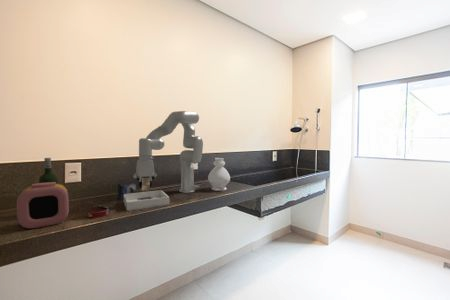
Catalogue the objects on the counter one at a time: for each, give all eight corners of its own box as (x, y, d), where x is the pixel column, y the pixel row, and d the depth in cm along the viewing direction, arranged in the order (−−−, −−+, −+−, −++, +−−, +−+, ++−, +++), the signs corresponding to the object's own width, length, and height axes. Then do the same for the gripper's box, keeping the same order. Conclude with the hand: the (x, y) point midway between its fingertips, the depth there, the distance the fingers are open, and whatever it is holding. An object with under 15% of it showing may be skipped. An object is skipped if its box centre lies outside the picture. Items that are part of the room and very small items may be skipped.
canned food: (90, 222, 121) (89, 204, 124) (110, 218, 124) (109, 200, 128) (84, 219, 111) (83, 200, 114) (106, 215, 114) (105, 196, 118)
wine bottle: (56, 209, 127) (54, 157, 125) (60, 212, 122) (58, 158, 120) (38, 213, 121) (36, 158, 119) (42, 216, 116) (40, 159, 114)
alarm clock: (17, 232, 97) (15, 188, 96) (21, 224, 106) (19, 183, 105) (69, 222, 108) (68, 183, 107) (68, 216, 117) (67, 179, 116)
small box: (120, 200, 146) (119, 184, 146) (117, 198, 151) (117, 183, 151) (136, 197, 153) (136, 182, 152) (133, 195, 158) (133, 181, 157)
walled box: (161, 197, 154) (161, 190, 154) (169, 205, 137) (169, 197, 137) (123, 201, 143) (123, 194, 142) (127, 211, 125) (126, 202, 125)
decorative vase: (220, 192, 168) (221, 159, 167) (203, 189, 179) (203, 158, 178) (234, 188, 183) (234, 158, 181) (217, 185, 193) (217, 156, 192)
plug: (148, 188, 142) (148, 177, 142) (149, 189, 138) (149, 178, 138) (140, 189, 140) (140, 177, 139) (142, 190, 136) (142, 179, 136)
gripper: (157, 157, 146) (157, 185, 146) (129, 158, 137) (129, 187, 138) (160, 158, 139) (160, 187, 140) (131, 159, 131) (131, 190, 132)
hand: (145, 187), depth 139 cm, fingers closed on plug, 4 cm apart
